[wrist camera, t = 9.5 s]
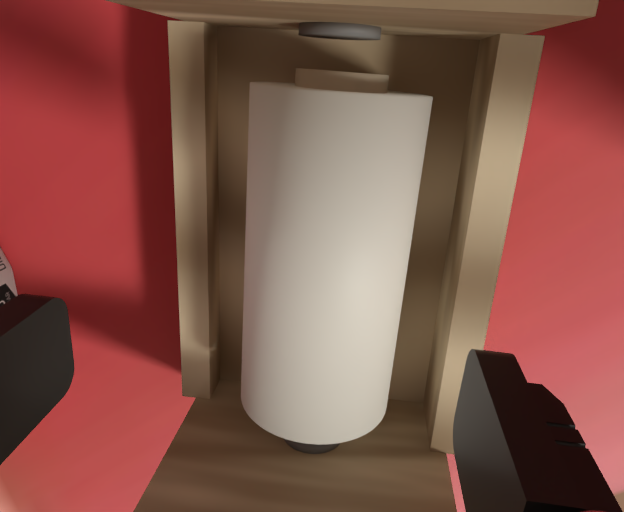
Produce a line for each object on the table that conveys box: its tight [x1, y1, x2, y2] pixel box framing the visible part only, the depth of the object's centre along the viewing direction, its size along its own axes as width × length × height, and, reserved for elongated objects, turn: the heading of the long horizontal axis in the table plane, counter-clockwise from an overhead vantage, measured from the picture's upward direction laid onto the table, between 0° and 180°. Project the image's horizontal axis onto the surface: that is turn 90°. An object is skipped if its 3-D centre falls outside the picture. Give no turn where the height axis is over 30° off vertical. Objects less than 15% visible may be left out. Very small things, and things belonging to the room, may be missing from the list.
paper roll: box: [241, 68, 433, 445], centre depth 17 cm, size 12×6×6 cm, turn 176°
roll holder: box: [106, 0, 599, 512], centre depth 17 cm, size 17×11×9 cm
